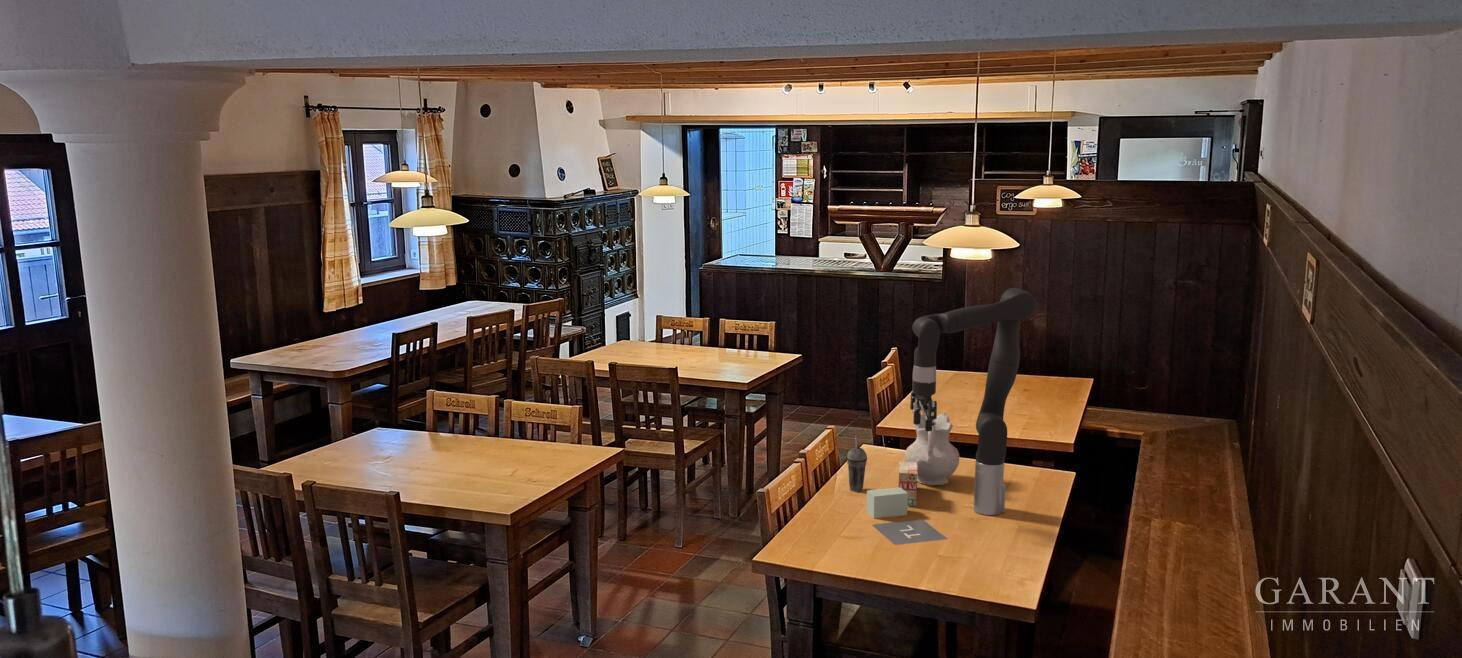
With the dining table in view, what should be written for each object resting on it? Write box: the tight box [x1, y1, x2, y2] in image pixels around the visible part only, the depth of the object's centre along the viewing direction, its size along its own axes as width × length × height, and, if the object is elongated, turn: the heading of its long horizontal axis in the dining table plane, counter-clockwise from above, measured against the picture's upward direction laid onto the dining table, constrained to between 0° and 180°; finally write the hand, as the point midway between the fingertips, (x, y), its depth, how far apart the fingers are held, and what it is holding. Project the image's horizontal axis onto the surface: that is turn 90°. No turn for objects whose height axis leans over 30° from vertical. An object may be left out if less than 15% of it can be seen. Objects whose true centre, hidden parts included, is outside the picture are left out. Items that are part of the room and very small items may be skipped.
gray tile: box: [871, 518, 948, 546], centre depth 331 cm, size 18×18×1 cm
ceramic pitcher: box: [904, 411, 960, 486], centre depth 379 cm, size 22×20×25 cm
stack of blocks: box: [897, 461, 918, 507], centre depth 364 cm, size 21×6×12 cm, turn 170°
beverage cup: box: [846, 435, 868, 493], centre depth 370 cm, size 7×7×20 cm
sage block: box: [865, 487, 908, 519], centre depth 347 cm, size 6×12×8 cm, turn 106°
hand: (922, 427), depth 341 cm, fingers open, 8 cm apart
